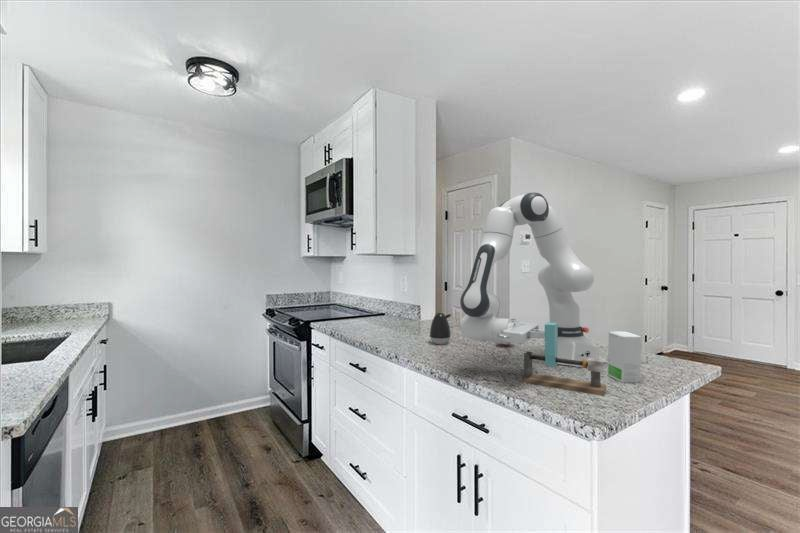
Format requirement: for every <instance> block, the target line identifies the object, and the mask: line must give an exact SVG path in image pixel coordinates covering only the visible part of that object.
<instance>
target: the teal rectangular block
mask: <svg viewBox="0 0 800 533" xmlns="http://www.w3.org/2000/svg"><path fill="white" fill-rule="evenodd" d="M544 331H545V338H544V356H545V361H544V362H545V364H544V366H545V367H552V368H556V367H557V365H558V364H557V362H556V358H557V353H558V323H552V322H550V321H548V322H546V323H544Z"/></svg>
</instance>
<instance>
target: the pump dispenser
mask: <svg viewBox="0 0 800 533" xmlns="http://www.w3.org/2000/svg"><path fill="white" fill-rule="evenodd" d="M451 317H452V314H451V313H450V314H444V313H443V312H437V313H436V314H435V315H434V316H433V319H432V322H431V324H430V328H429V337H430V340H431V342H432V343H433V344H434V345H435V344H436V345H446V344H447V343H449V341H450V338H451V336H452V334H451V333H452V332H451V329H450V328H451V327H450V324H449V320H448V318H451Z"/></svg>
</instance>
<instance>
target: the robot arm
mask: <svg viewBox="0 0 800 533" xmlns="http://www.w3.org/2000/svg"><path fill="white" fill-rule="evenodd" d="M526 224H527V225H529V227H530V228H531V232H532V236H533V239H534V241H535V244H536V246H537V249H538V253H539V255H540V257H542V258H543V259H544V260H545V261H546V262H547V263H549V264H546V265H544V266H542V267H541V268H540V269H539V271H538V273H537V280H538V282H539V283H540V285H541V286H542V288H543V289H544V292H545V295H546V298H547V302H548V309H549V311H548V312H549V322H552V323H558V353H557V358H561V359H569V360H577V361H583V359H585V360H587V362H588V359H589V358H594V359H602V360H603V364H606V363H607V360H606V359H605V358H604V357H602V356H600V351H599V347H598V345H597V344H596V343H594V342H593V341H592V340H590V339H589V338H587V337H586V336H585V335H584V333H586V334H588V333H589V332H590V328H589V327H586V326H583V327H582V326H580V323H581V322H580V319H581V318H580V316H581V314H580V313H581V312H580V309H581V308H580V306H579V304H578V303H577V302H576V301H575V299H574V296H573V294H572V293H579V292H585V291H588V290H589V289H590V288H592V285H593V283H594V278H595V276H594V272H593V271H592V269H591V268H590V267H589V266H587V265H585V264H584V263H583V262H582V261H581V260H580V259H579V258H578V257H577V255H576V253H575V252H574V251H573V249H572V248H571V246H570V244H569V242H568V239H567V236H566V234H565V231H564V229H563V226H562V223H561V221H560V219H559V217H558V215H557V213H556V211H555V209H554V208H553V207H552V206H551V205H549V202H548V201H547V199H546V198H545V196H544V195H543V194H541V193H539V192H527V193H525V194H520V195H517V196H514V197H513V198H511V199H507V200H506V201H504V202H502V203H501V204H500V205H499V206H496V207H493V208H492V209H490V211H489V213H488V215H487V217H486V220H485V222H484V226H483V230H482V236H481V239H480V240H481V241H480V244H479V248H478V249H477V253H476V256H475V259H474V262H473V266H472V270H471V274H470V278H469V281H468V284H467V285H466V287H465V289H464V291H463V293H462V294H461V297H460V301H459V302H460V308H461V310H462V312H463V313H465V315H464V316H462V317H461V319H460V322H459V329H460V332H461V334H462V335H463V337H464V338H466V339H468V340H472V341H478V342H484V343H485V342H492V343H494V344H501V343H502V344H508V345H510V344H519V345H523V344H525V343H526V344H527V342H529V341H530V340H531V339H545V330H541V329H539V324H538V323H535V322H529V321H524V320H517V319H516V318H505V317H498V316H499V312H500V307H501V306H500V300H499V298H498V297H497V296H496V295H495V294H493V293H491V292H489V291H488V284H489V280H490V277H491V273H492V269H493V267H494V264H496V262H498V261H501V260H502V259H505V258H506V257H507V256H508V254H509V252H510V250H511V247H512V244H513V238H514V231H515V227H516V226H524V225H526ZM502 344H501V345H502ZM557 365H564V366H572V367H578V368H581V367H582V368H583V366H581V365H573V364H565V363H558V362H557Z"/></svg>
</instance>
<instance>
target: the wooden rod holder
mask: <svg viewBox="0 0 800 533" xmlns="http://www.w3.org/2000/svg"><path fill="white" fill-rule="evenodd" d="M523 356H524V357H523V358H524V359H523V377H522V378H521V379H522V380H521V381H522V382H521V383H524V384H530V385H534V386H535V385H536V386H541V387H548V388H554V389H555V388H556V389H561V390H567V391H572V392H579V393H585V394H590V395H591V394H592V395H597V396H605V393H606V390H607V384H606V383H602V382H601V373H603V372H604V368H605V367H604V366H605V365H604V363H603V360H602V359H594V358H589V359H588V362H587V360H585V359H583V361H577V360H569V359H561V358H556V362H558V363H565V364H573V365H581V366H583V367H582V368H583V369H587V371H588V372H590V381H586V380H581V379H574V378H567V377H566V378H565V377H562V376H561V377H559V376H555V375H554V376H553V375H546V374H539V373H533V360H535V361H542V362H545V355H537V354H536V355H535V354H533V352H532V351H526V352H524V354H523Z"/></svg>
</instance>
